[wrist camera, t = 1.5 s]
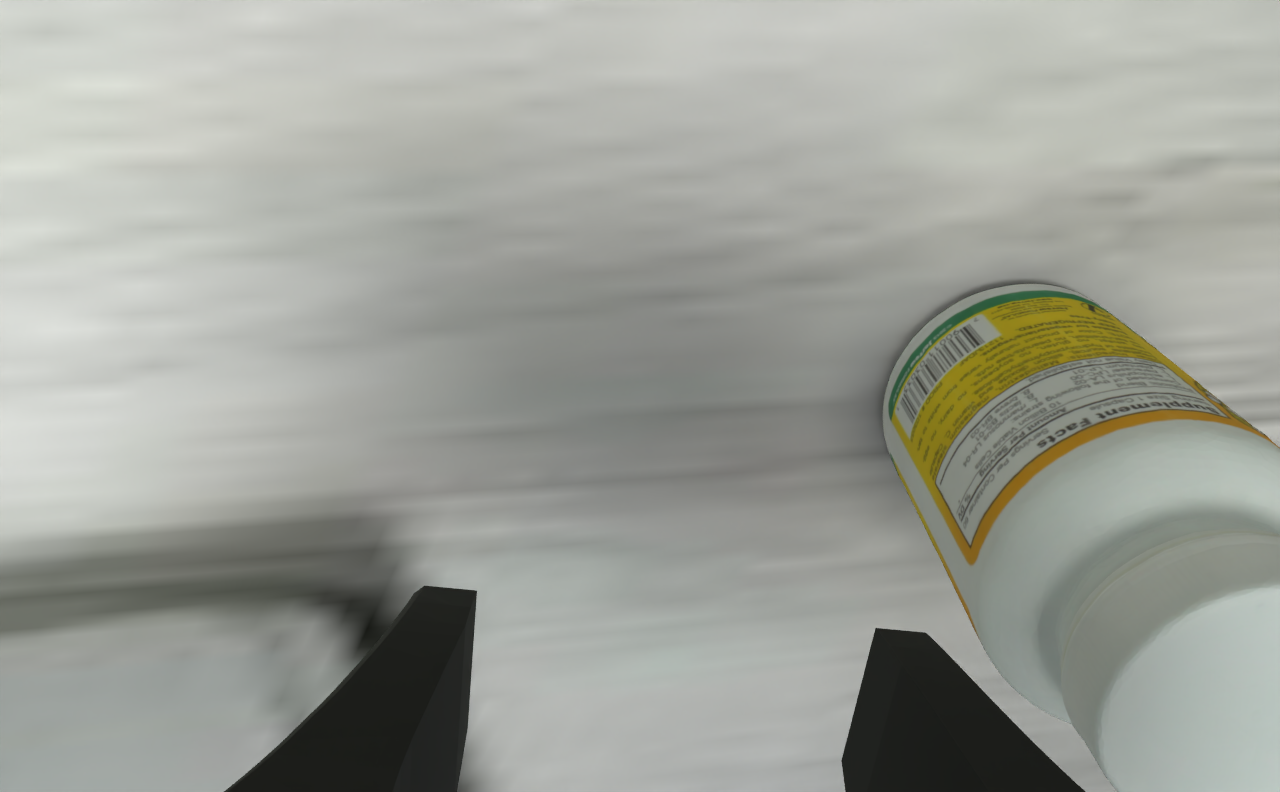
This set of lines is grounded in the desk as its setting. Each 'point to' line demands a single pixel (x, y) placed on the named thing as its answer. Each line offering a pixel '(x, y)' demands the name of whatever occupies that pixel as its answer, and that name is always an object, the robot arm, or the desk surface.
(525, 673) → the desk surface
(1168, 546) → the supplement bottle
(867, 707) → the robot arm
